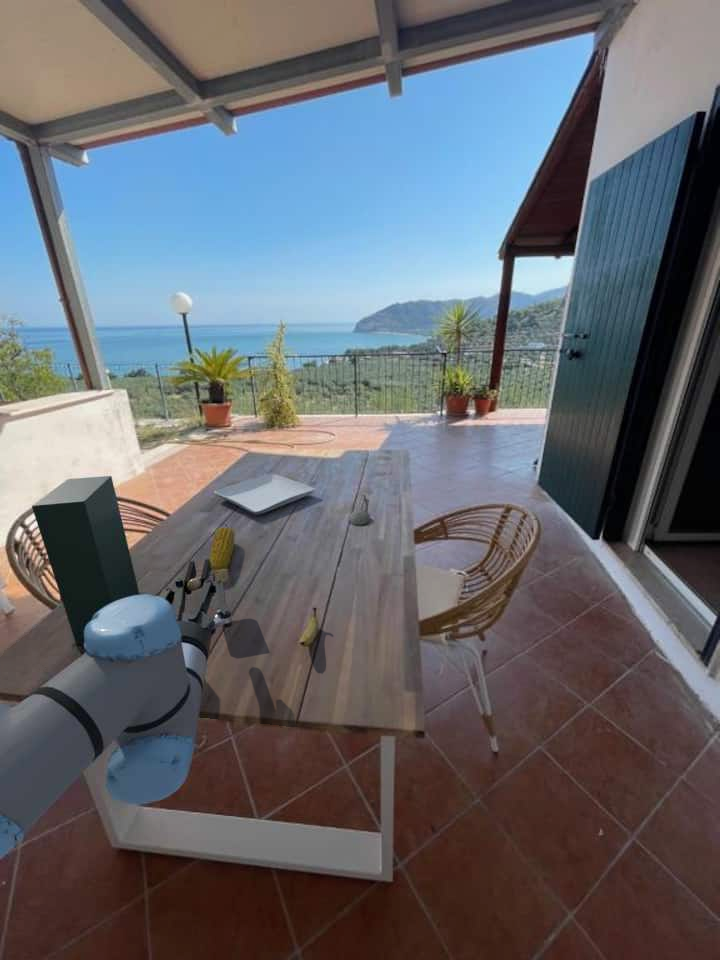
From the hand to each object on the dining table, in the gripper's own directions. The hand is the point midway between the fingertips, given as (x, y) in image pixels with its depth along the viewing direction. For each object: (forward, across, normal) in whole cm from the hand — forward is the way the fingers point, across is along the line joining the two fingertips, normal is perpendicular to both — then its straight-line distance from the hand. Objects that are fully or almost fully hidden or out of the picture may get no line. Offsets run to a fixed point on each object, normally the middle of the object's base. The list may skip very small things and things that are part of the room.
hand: (200, 566), depth 72 cm
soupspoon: (+52, -44, +17) cm, 70 cm away
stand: (+12, +22, +17) cm, 30 cm away
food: (+31, 0, +17) cm, 35 cm away
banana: (-5, -19, +17) cm, 26 cm away
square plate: (+72, -12, +17) cm, 75 cm away
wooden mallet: (+1, 0, +5) cm, 5 cm away
